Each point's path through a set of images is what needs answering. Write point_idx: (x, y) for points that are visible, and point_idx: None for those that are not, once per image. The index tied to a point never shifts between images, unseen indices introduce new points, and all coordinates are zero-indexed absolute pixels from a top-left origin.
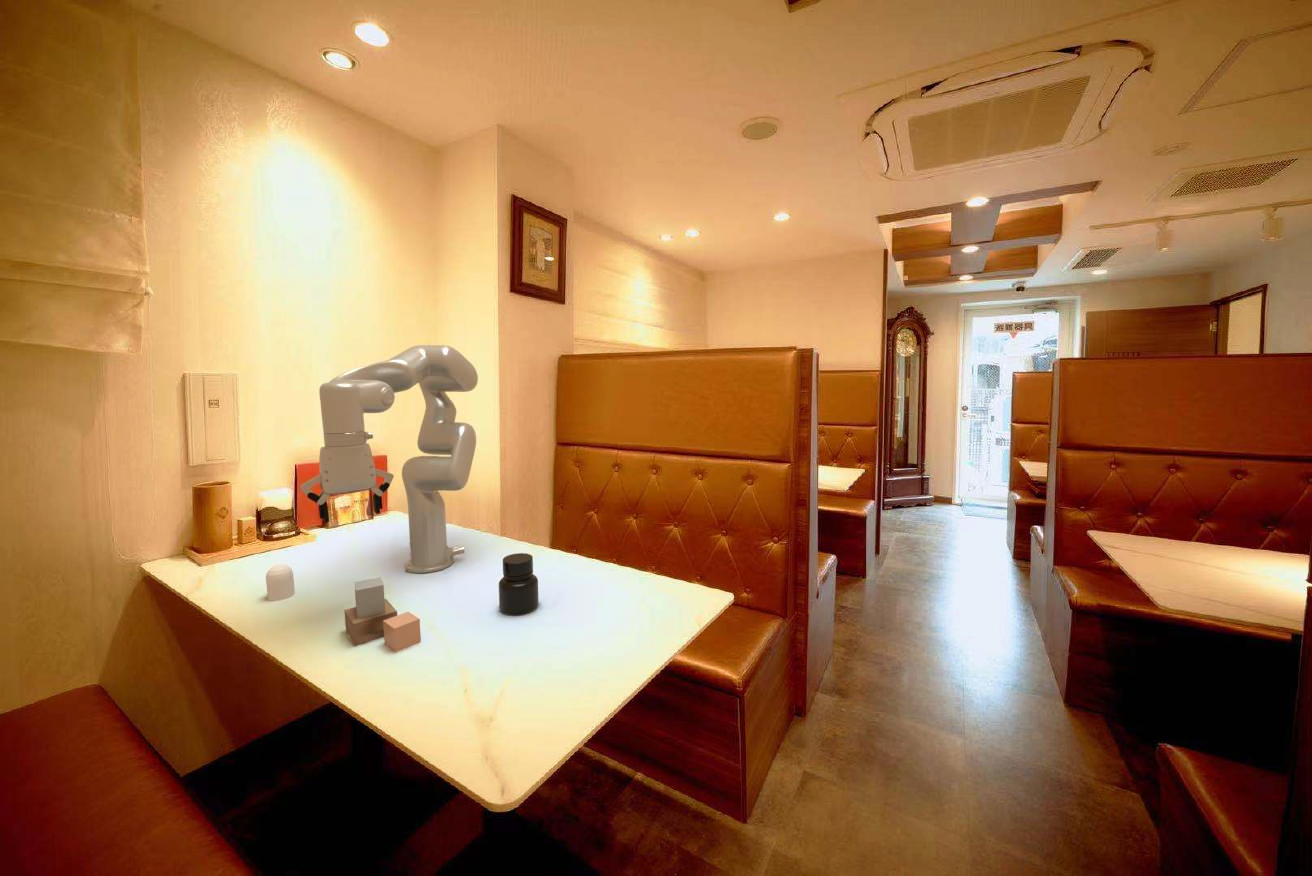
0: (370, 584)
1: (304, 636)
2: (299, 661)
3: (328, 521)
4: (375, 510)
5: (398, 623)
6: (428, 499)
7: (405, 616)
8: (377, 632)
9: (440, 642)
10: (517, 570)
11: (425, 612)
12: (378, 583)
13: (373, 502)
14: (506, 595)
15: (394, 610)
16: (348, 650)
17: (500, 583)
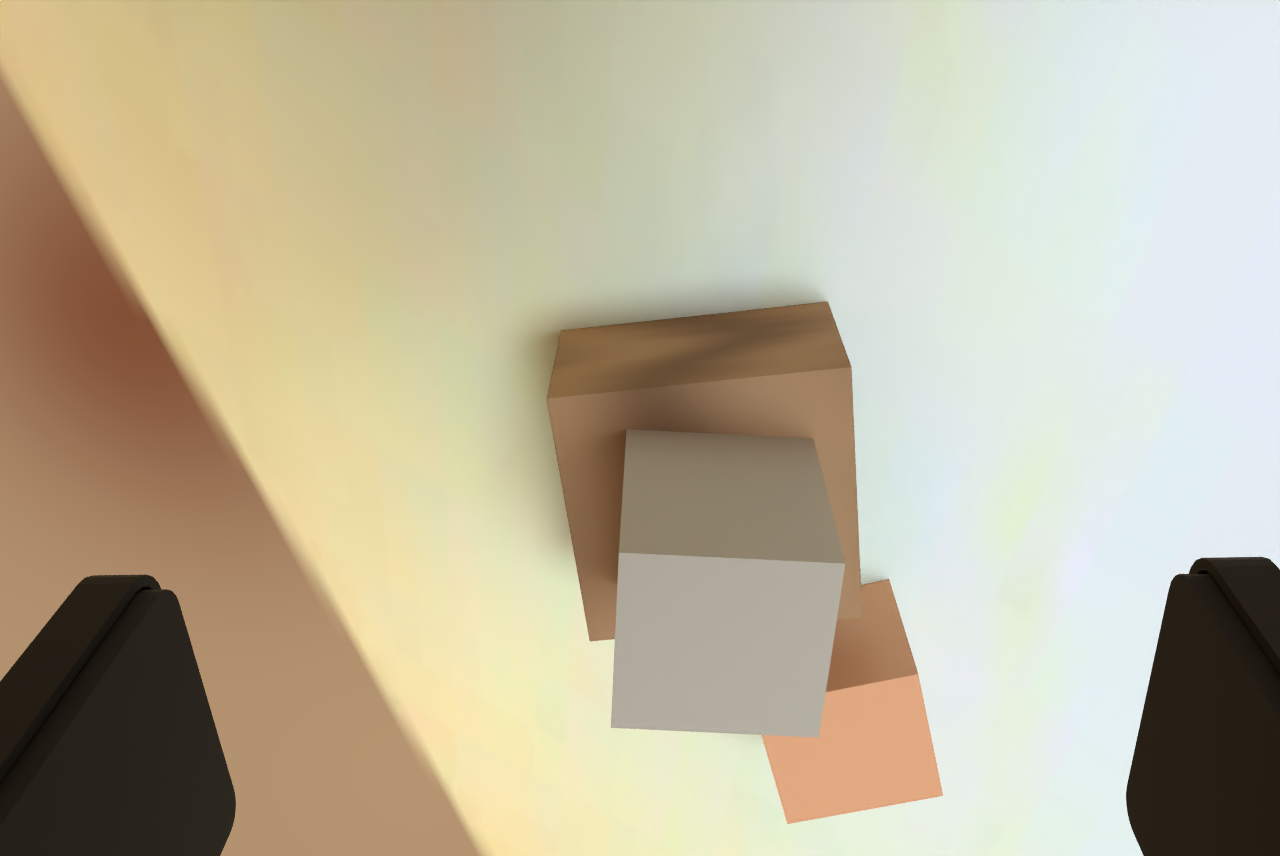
0: (731, 677)
1: (314, 245)
2: (327, 547)
3: (226, 811)
4: (1161, 778)
5: (823, 785)
6: None
7: (883, 726)
8: None
9: (991, 751)
10: None
11: (1074, 357)
12: (791, 687)
13: (1276, 753)
14: None
15: (851, 599)
16: (562, 575)
17: None
